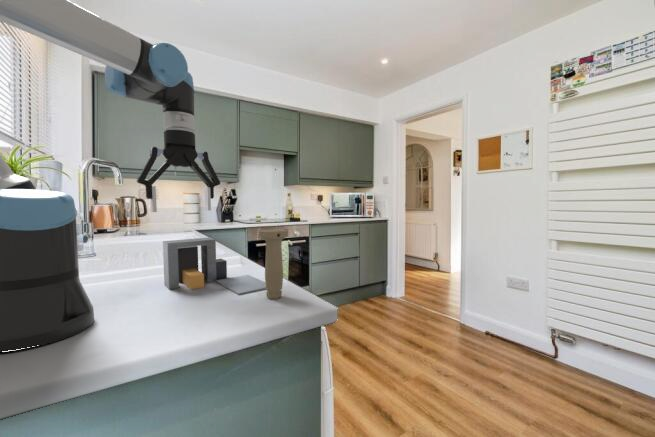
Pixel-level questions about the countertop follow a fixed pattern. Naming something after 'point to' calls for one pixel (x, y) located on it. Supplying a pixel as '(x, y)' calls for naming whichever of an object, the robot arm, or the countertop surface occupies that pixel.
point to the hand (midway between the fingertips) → (182, 211)
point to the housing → (210, 264)
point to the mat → (243, 284)
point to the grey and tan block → (189, 267)
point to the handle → (273, 261)
